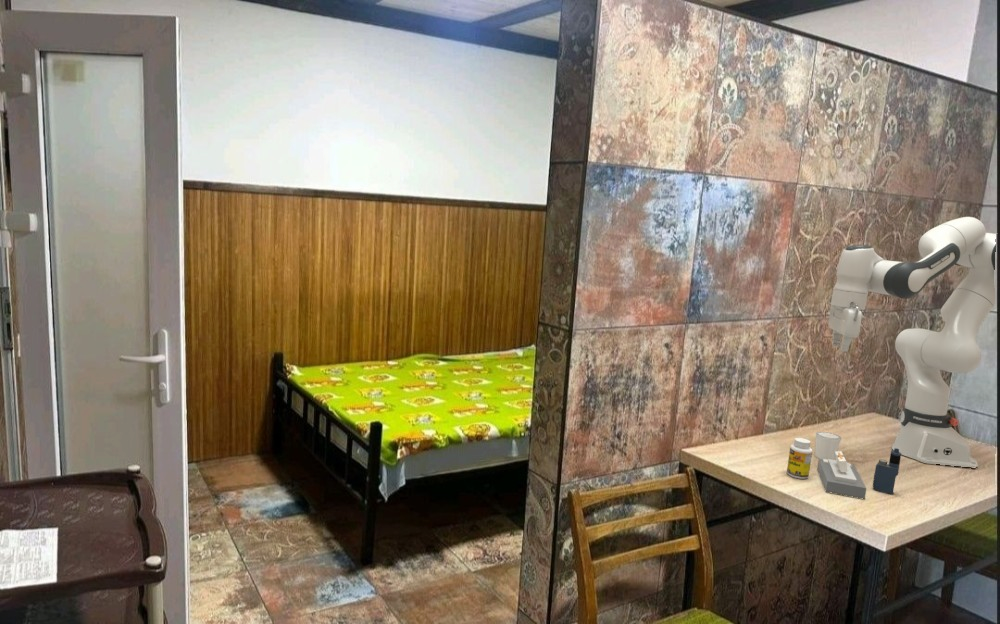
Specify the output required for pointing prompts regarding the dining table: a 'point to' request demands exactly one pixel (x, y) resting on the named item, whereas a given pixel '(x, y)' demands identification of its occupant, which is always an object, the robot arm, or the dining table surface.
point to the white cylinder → (826, 445)
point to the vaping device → (887, 473)
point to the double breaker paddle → (841, 461)
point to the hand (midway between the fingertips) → (839, 348)
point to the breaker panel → (841, 479)
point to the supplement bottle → (799, 459)
